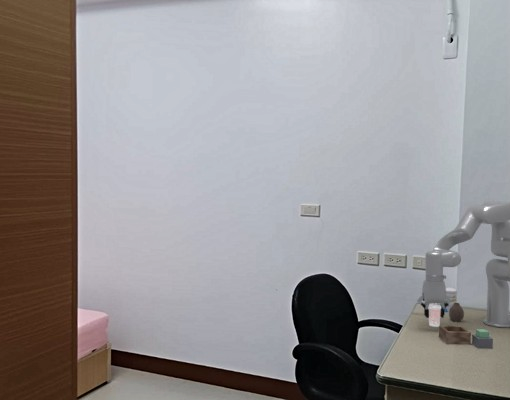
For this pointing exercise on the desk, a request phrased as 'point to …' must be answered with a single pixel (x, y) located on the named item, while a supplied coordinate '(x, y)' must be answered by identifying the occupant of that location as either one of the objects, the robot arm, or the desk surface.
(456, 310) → the vase
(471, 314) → the desk surface
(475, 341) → the button housing
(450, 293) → the ink box
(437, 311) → the beverage cup
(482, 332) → the button
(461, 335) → the open wooden cube shelf
